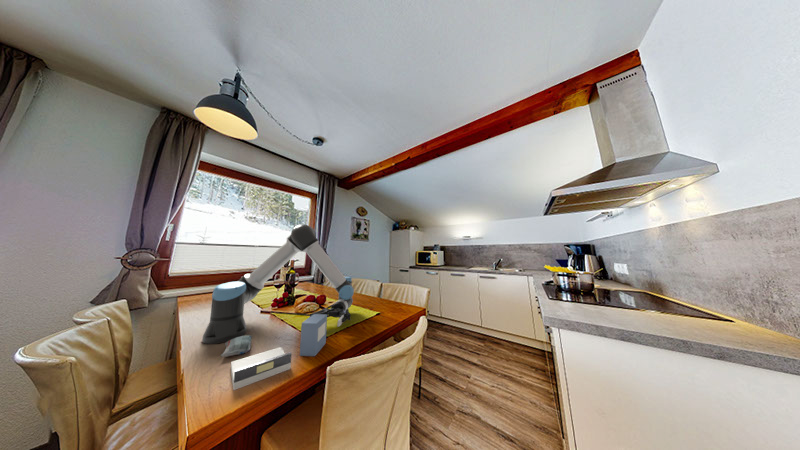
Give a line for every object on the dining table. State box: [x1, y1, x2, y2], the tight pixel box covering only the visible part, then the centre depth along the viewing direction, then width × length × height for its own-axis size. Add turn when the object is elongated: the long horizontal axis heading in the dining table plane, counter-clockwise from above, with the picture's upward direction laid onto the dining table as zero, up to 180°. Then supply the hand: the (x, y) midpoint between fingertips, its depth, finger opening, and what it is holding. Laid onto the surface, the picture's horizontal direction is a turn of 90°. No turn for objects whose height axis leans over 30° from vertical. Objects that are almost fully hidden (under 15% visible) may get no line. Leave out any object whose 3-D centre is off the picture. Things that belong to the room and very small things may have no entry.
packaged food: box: [220, 335, 253, 358], centre depth 78 cm, size 9×12×5 cm
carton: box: [299, 314, 328, 357], centre depth 81 cm, size 6×10×12 cm, turn 178°
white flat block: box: [230, 346, 292, 391], centre depth 67 cm, size 14×15×5 cm
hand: (323, 323), depth 89 cm, fingers open, 13 cm apart
